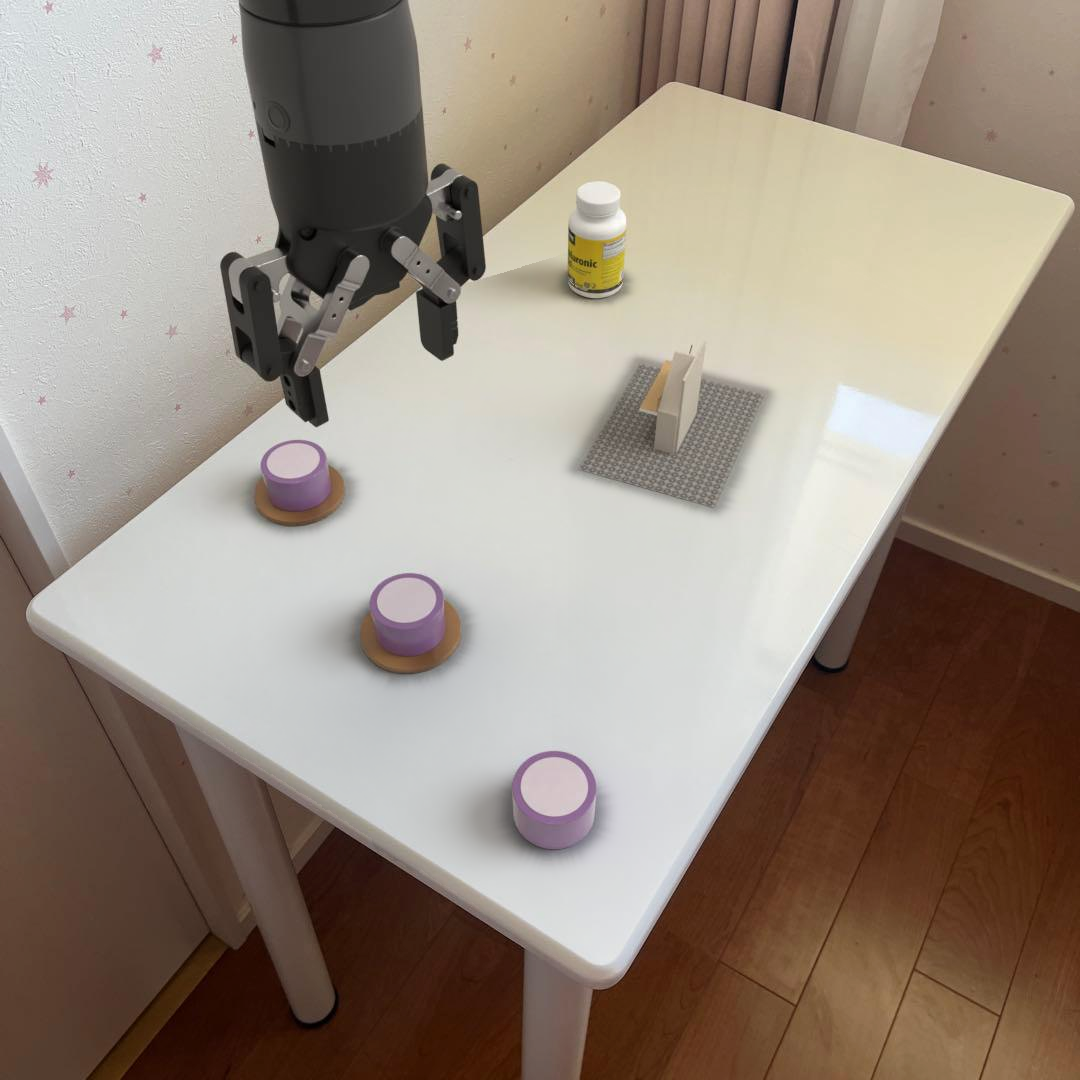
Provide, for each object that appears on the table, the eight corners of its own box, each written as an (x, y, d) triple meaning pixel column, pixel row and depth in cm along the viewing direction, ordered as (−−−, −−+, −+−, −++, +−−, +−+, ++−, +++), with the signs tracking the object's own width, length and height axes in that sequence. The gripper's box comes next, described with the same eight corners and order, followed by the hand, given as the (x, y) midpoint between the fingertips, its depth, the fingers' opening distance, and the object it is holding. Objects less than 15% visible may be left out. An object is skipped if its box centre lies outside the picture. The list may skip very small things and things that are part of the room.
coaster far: (287, 539, 84) (285, 535, 83) (238, 492, 87) (236, 487, 87) (362, 496, 87) (361, 492, 86) (312, 452, 90) (311, 447, 90)
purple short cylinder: (290, 521, 84) (283, 492, 82) (255, 487, 87) (247, 458, 84) (344, 490, 86) (339, 462, 84) (308, 458, 89) (302, 430, 87)
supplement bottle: (555, 280, 107) (556, 188, 100) (599, 262, 110) (603, 170, 102) (590, 307, 104) (593, 213, 97) (634, 287, 107) (641, 194, 99)
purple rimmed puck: (551, 865, 65) (551, 840, 63) (496, 809, 68) (494, 783, 66) (611, 814, 68) (613, 788, 65) (556, 762, 70) (556, 735, 68)
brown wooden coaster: (401, 691, 74) (400, 687, 74) (341, 630, 77) (340, 626, 77) (481, 636, 77) (481, 631, 77) (420, 580, 81) (419, 575, 80)
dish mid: (403, 668, 75) (399, 640, 72) (360, 626, 77) (354, 597, 75) (460, 630, 77) (458, 601, 75) (416, 589, 79) (413, 561, 77)
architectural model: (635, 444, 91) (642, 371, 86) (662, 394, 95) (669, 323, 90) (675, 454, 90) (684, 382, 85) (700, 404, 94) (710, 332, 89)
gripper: (413, 30, 55) (436, 305, 66) (153, 119, 48) (229, 407, 60) (512, 79, 51) (518, 362, 63) (244, 184, 44) (307, 478, 56)
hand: (376, 384), depth 61 cm, fingers open, 8 cm apart
